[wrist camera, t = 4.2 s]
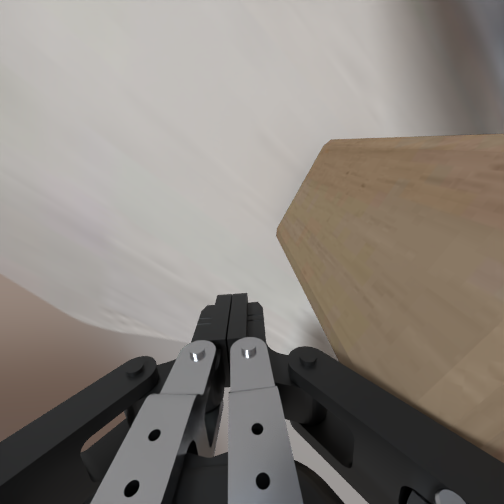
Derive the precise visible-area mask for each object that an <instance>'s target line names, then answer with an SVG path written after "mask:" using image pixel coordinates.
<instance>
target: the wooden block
mask: <svg viewBox="0 0 504 504" xmlns="http://www.w3.org/2000/svg"><path fill="white" fill-rule="evenodd" d="M276 236H277V238H278V240H279V242H280V244H281V246H282V248H283V250H284V252H285V254H286V256H287V258H288V260H289V262H290V264H291V266H292V268H293V270H294V272H295V274H296V276H297V278H298V280H299V282H300V284H301V286H302V288H303V290H304V292H305V294H306V296H307V298H308V300H309V302H310V304H311V306H312V308H313V310H314V312H315V314H316V316H317V318H318V320H319V322H320V324H321V326H322V328H323V330H324V332H325V334H326V336H327V338H328V340H329V342H330V344H331V346H332V348H333V350H334V352H335V354H336V356H337V358H338V360H339V362H340V363H341V364H343V365H345V366H346V367H348V368H350V369H351V370H353V371H354V372H356V373H358V374H359V375H361V376H363V377H364V378H366V379H367V380H369V381H371V382H372V383H374V384H376V385H377V386H379V387H381V388H382V389H384V390H385V391H387V392H389V393H390V394H392V395H394V396H395V397H397V398H398V399H400V400H402V401H403V402H405V403H407V404H408V405H410V406H411V407H413V408H415V409H416V410H418V411H420V412H421V413H423V414H425V415H426V416H428V417H429V418H431V419H433V420H434V421H436V422H438V423H439V424H441V425H442V426H444V427H446V428H447V429H449V430H451V431H452V432H454V433H455V434H457V435H459V436H460V437H462V438H464V439H465V440H467V441H469V442H470V443H472V444H473V445H475V446H477V447H478V448H480V449H482V450H483V451H485V452H486V453H488V454H490V455H491V456H493V457H495V458H496V459H498V460H499V461H501V462H503V463H504V134H482V135H452V136H423V137H394V138H365V139H335V140H330V141H329V142H328V143H326V144H325V145H324V146H323V148H322V150H321V151H320V153H319V155H318V157H317V158H316V160H315V162H314V164H313V165H312V167H311V169H310V171H309V173H308V174H307V176H306V178H305V180H304V181H303V183H302V185H301V187H300V189H299V190H298V192H297V194H296V196H295V197H294V199H293V201H292V203H291V205H290V206H289V208H288V210H287V212H286V213H285V215H284V217H283V219H282V221H281V222H280V224H279V226H278V228H277V234H276Z"/></svg>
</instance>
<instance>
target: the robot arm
mask: <svg viewBox="0 0 504 504" xmlns="http://www.w3.org/2000/svg"><path fill="white" fill-rule="evenodd" d="M224 387H230V392H229V397H228V401H229V402H228V407H229V408H228V452H226V453H223V454H221V455H218V456H215V457H214V453H215V448H216V442H217V437H218V432H219V427H220V421H221V416H222V411H223V396H224ZM123 411H124V413H125V416H126V419H125V420H123V421H122V422H121V423H120V424H118V425H117V426H116V427H115V428H113V429H112V430H111V431H110V432H108V433H107V434H106V435H105V436H103V437H102V438H101V439H100V440H99V441H97V442H96V443H95V444H94V445H92V446H91V447H90V448H89V449H87V450H86V451H84V452H81V448H82V446H83V445H84V443H85V442H86V441H87V440H88V439H89V438H90V437H91V436H92V435H94V434H95V433H96V432H97V431H99V430H100V429H101V428H103V427H104V426H105V425H106V424H108V423H109V422H110V421H112V420H113V419H114V418H115V417H116V416H118V415H119V414H120V413H122V412H123ZM285 419H287V420H290V422H291V425H292V427H293V428H294V429H295V430H296V431H297V432H298V433H299V434H300V435H301V436H302V437H303V438H304V439H305V440H306V441H307V442H308V443H309V444H310V445H311V446H312V447H313V448H314V449H315V450H316V451H317V452H318V453H319V454H320V455H321V456H322V457H323V458H324V459H325V460H326V461H327V462H328V463H329V464H330V465H331V466H332V467H333V468H334V469H335V470H336V471H337V472H338V473H339V474H340V475H341V476H342V477H343V478H344V479H345V480H346V481H347V482H348V483H349V484H350V485H351V486H352V487H353V488H354V489H355V490H356V491H357V492H358V493H359V494H360V495H361V496H362V497H363V498H364V499H365V500H366V501H367V502H368V503H369V504H504V463H503V462H501V461H499V460H498V459H496V458H495V457H493V456H491V455H490V454H488V453H486V452H485V451H483V450H482V449H480V448H478V447H477V446H475V445H473V444H472V443H470V442H469V441H467V440H465V439H464V438H462V437H460V436H459V435H457V434H455V433H454V432H452V431H451V430H449V429H447V428H446V427H444V426H442V425H441V424H439V423H438V422H436V421H434V420H433V419H431V418H429V417H428V416H426V415H425V414H423V413H421V412H420V411H418V410H416V409H415V408H413V407H411V406H410V405H408V404H407V403H405V402H403V401H402V400H400V399H398V398H397V397H395V396H394V395H392V394H390V393H389V392H387V391H385V390H384V389H382V388H381V387H379V386H377V385H376V384H374V383H372V382H371V381H369V380H367V379H366V378H364V377H363V376H361V375H359V374H358V373H356V372H354V371H353V370H351V369H350V368H348V367H346V366H345V365H343V364H341V363H340V362H338V361H337V360H335V359H333V358H332V357H330V356H328V355H327V354H325V353H323V352H322V351H320V350H318V349H316V348H313V347H306V346H304V347H298V348H296V349H294V350H292V351H291V352H290V354H289V355H284V354H280V353H277V352H275V351H273V350H271V349H270V348H269V347H268V345H267V343H266V337H265V327H264V316H263V307H262V306H261V305H260V304H259V303H258V302H252V303H248V296H247V293H241V294H233V296H232V294H227V295H218V296H217V299H216V303H215V305H207V306H206V307H205V308H204V309H203V310H202V311H201V314H200V317H199V320H198V323H197V326H196V329H195V332H194V335H193V338H192V341H191V343H189V344H187V345H186V346H185V347H184V348H182V350H181V351H180V353H179V355H178V357H177V359H175V360H173V361H170V362H167V363H163V364H160V365H156V361H155V360H154V359H153V358H152V357H148V356H142V357H137V358H134V359H131V360H129V361H128V362H126V363H124V364H123V365H121V366H120V367H118V368H117V369H115V370H113V371H112V372H110V373H109V374H107V375H106V376H104V377H102V378H101V379H99V380H97V381H96V382H95V383H93V384H91V385H90V386H88V387H87V388H85V389H84V390H82V391H80V392H79V393H77V394H76V395H74V396H72V397H71V398H69V399H68V400H66V401H65V402H63V403H61V404H60V405H58V406H57V407H55V408H54V409H52V410H50V411H49V412H47V413H46V414H44V415H42V416H41V417H39V418H38V419H36V420H34V421H33V422H31V423H30V424H28V425H27V426H25V427H23V428H22V429H20V430H19V431H17V432H16V433H14V434H13V435H11V436H9V437H8V438H6V439H5V440H3V441H1V442H0V504H344V502H343V501H342V500H341V499H340V498H339V497H338V496H337V495H336V493H335V492H334V491H333V490H332V489H331V488H330V486H328V484H327V483H326V482H325V481H324V480H323V479H322V478H321V477H320V476H319V475H318V474H316V473H315V472H314V471H313V470H311V469H310V468H308V467H307V466H305V465H303V464H302V463H299V462H298V461H295V460H294V458H293V454H292V450H291V445H290V441H289V436H288V431H287V427H286V422H285ZM80 452H81V453H80Z"/></svg>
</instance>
